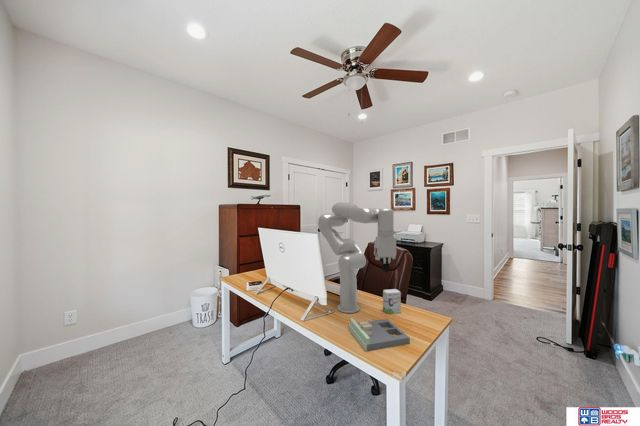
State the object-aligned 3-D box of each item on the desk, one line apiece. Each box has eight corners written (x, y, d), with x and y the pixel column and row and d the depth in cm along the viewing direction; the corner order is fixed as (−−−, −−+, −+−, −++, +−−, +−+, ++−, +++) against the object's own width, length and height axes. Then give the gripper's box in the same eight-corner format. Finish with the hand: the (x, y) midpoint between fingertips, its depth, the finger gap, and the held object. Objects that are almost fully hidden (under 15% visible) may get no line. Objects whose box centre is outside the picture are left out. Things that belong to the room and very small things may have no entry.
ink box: (396, 309, 135) (396, 288, 135) (401, 312, 130) (401, 291, 130) (382, 310, 134) (382, 289, 134) (386, 314, 129) (386, 292, 128)
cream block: (359, 331, 106) (359, 322, 106) (367, 330, 107) (367, 321, 107) (363, 336, 102) (363, 327, 102) (372, 335, 103) (371, 325, 103)
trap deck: (348, 329, 113) (348, 319, 113) (387, 323, 118) (387, 313, 118) (365, 351, 95) (365, 338, 95) (409, 343, 100) (409, 331, 100)
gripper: (394, 232, 120) (394, 268, 121) (368, 233, 117) (368, 270, 117) (403, 234, 113) (403, 272, 113) (375, 235, 109) (375, 274, 110)
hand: (385, 271), depth 115 cm, fingers closed
